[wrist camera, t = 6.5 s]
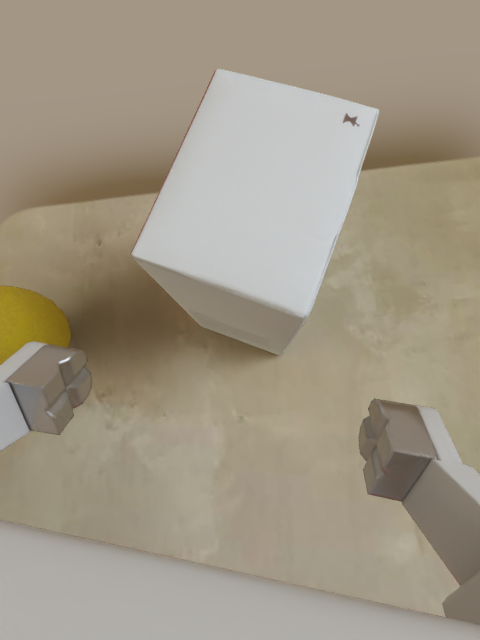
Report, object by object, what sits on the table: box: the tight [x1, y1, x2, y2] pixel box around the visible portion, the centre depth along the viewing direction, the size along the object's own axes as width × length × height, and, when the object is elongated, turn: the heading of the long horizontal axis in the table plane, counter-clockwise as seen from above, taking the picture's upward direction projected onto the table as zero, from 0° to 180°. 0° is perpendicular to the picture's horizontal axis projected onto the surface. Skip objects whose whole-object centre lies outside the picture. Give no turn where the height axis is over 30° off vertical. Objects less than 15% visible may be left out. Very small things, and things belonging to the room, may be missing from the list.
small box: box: [131, 69, 379, 356], centre depth 17 cm, size 8×6×13 cm
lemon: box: [0, 286, 71, 365], centre depth 20 cm, size 6×6×8 cm
